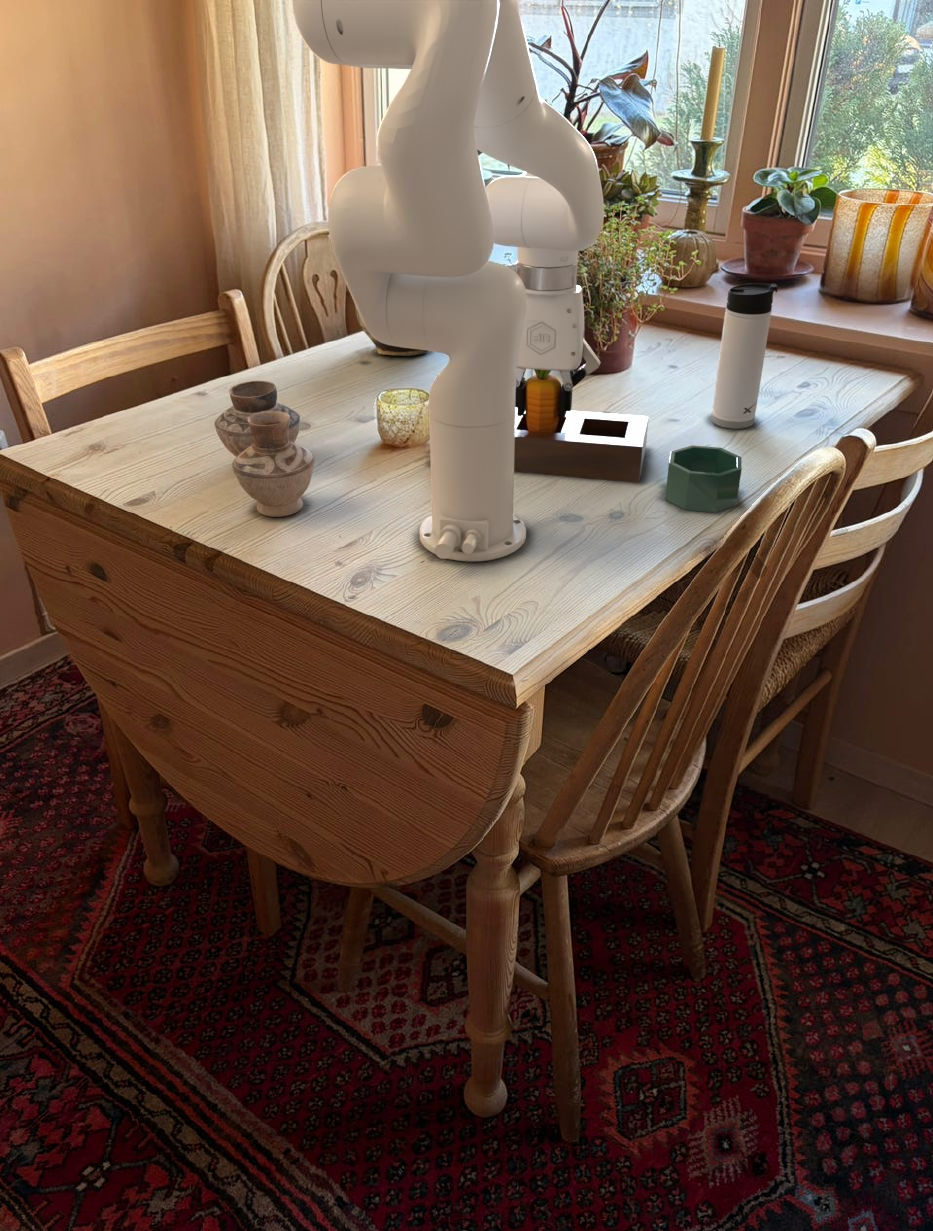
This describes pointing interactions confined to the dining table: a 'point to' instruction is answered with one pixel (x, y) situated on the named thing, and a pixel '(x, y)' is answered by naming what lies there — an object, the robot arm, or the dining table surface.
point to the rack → (584, 446)
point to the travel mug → (742, 354)
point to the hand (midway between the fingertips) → (542, 412)
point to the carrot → (542, 401)
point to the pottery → (266, 448)
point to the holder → (703, 478)
